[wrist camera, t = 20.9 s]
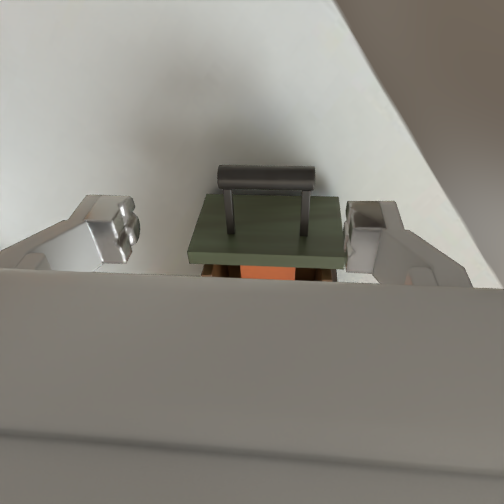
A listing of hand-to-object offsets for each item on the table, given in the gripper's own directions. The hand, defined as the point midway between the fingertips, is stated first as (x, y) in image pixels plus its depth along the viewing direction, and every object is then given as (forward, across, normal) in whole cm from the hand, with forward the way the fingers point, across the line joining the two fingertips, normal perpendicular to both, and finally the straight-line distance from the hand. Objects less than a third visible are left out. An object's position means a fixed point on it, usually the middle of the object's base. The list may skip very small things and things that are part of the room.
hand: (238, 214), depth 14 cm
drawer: (+18, 0, +15) cm, 23 cm away
